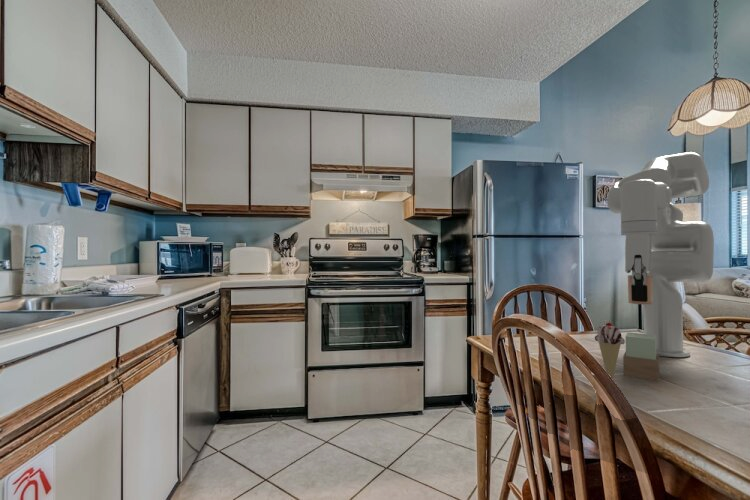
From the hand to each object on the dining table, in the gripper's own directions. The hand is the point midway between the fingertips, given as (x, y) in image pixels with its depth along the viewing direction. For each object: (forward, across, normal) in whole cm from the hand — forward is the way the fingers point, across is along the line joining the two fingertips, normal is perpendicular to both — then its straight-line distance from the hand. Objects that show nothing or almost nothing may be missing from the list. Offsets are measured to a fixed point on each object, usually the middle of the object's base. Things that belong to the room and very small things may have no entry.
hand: (640, 299), depth 94 cm
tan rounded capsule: (+1, 0, 0) cm, 1 cm away
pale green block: (+14, 0, 0) cm, 14 cm away
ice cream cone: (+19, +16, -5) cm, 26 cm away
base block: (+19, 0, 0) cm, 19 cm away
